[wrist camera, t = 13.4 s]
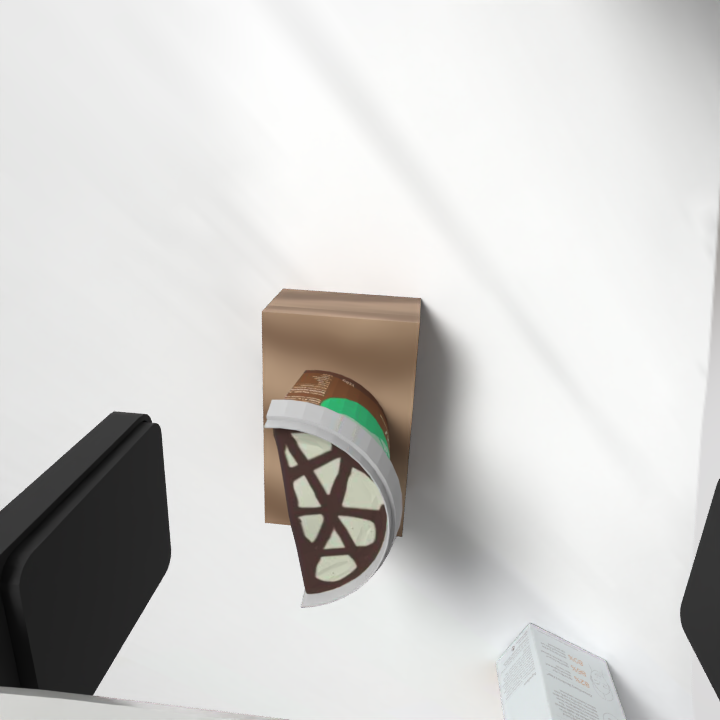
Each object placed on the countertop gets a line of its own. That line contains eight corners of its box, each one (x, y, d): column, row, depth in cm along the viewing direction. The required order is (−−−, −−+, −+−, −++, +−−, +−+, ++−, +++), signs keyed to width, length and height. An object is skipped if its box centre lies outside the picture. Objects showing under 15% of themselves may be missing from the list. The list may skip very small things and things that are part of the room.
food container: (415, 506, 42) (412, 612, 33) (329, 511, 43) (302, 615, 34) (396, 340, 38) (386, 407, 29) (301, 348, 39) (261, 416, 30)
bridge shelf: (283, 288, 44) (261, 311, 38) (420, 298, 43) (419, 323, 37) (283, 478, 50) (264, 522, 44) (405, 490, 49) (402, 536, 43)
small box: (494, 660, 54) (508, 777, 44) (529, 619, 52) (553, 732, 42) (570, 698, 55) (601, 822, 45) (608, 659, 53) (649, 780, 43)
